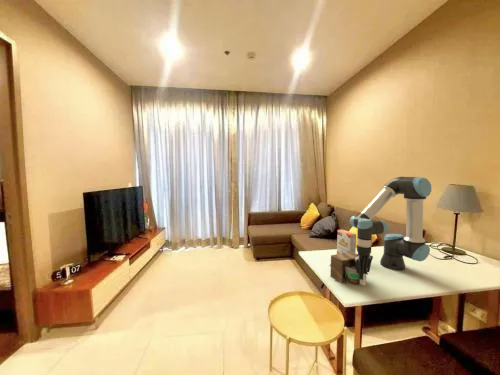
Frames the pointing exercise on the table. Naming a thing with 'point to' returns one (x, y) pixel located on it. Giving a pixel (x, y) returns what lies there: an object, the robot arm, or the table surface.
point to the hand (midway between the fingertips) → (362, 284)
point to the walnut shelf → (341, 264)
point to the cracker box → (346, 242)
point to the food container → (352, 275)
